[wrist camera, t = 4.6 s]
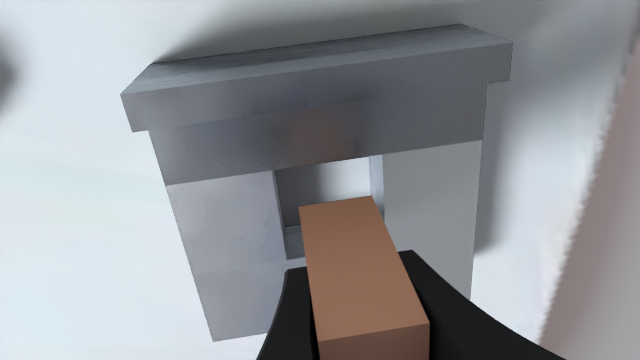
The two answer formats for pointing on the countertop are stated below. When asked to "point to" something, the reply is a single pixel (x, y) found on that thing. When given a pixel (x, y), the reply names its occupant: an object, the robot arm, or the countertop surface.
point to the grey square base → (318, 152)
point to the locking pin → (360, 285)
